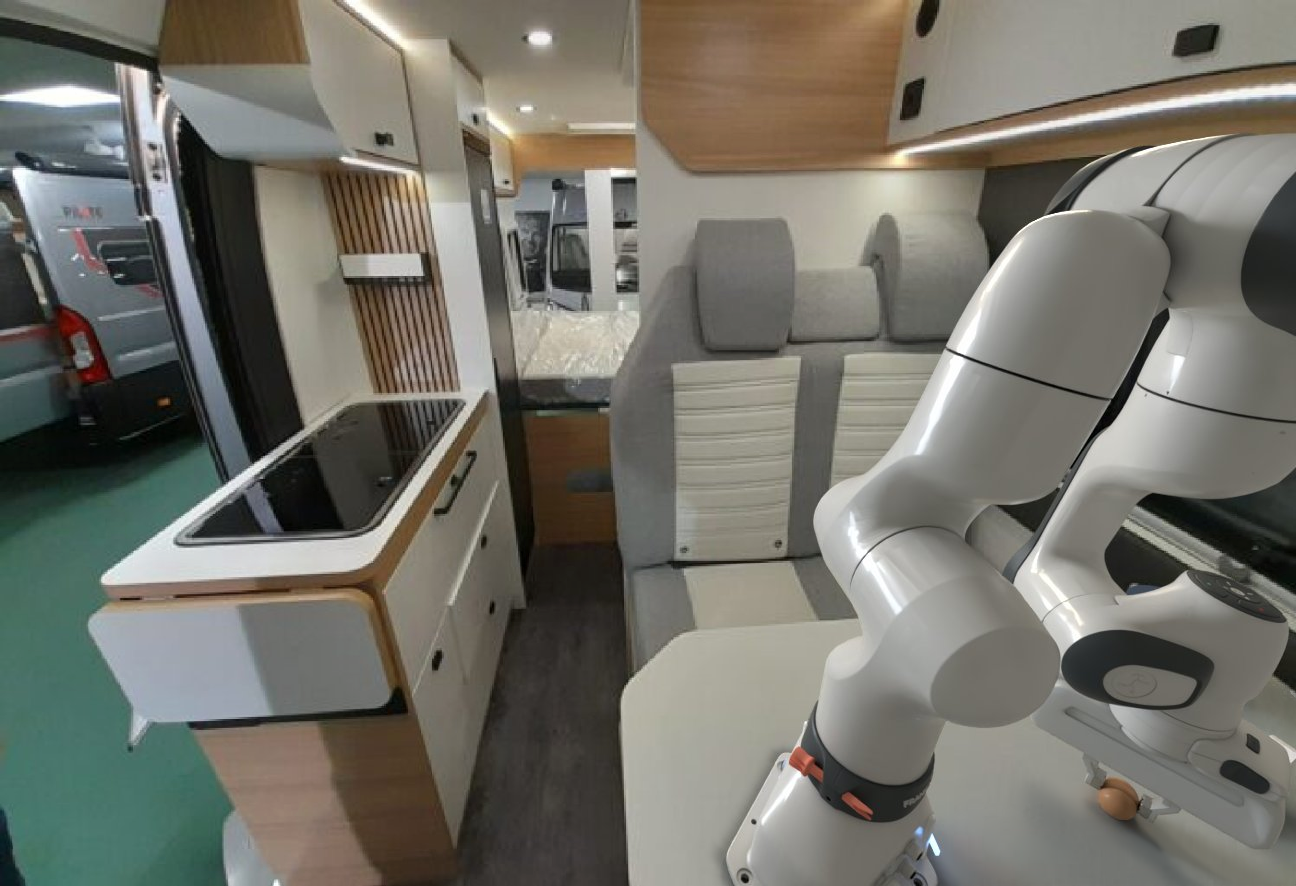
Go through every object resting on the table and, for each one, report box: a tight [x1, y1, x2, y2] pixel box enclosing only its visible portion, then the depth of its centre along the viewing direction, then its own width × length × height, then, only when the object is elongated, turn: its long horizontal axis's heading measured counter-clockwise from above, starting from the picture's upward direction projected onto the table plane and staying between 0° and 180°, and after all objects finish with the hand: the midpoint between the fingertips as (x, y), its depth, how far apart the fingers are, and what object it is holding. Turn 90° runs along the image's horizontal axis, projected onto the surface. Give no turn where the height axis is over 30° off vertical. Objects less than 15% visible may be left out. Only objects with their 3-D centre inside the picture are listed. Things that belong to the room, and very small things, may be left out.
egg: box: [1097, 776, 1140, 821], centre depth 61 cm, size 5×3×3 cm
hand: (1118, 798), depth 61 cm, fingers closed on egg, 3 cm apart
